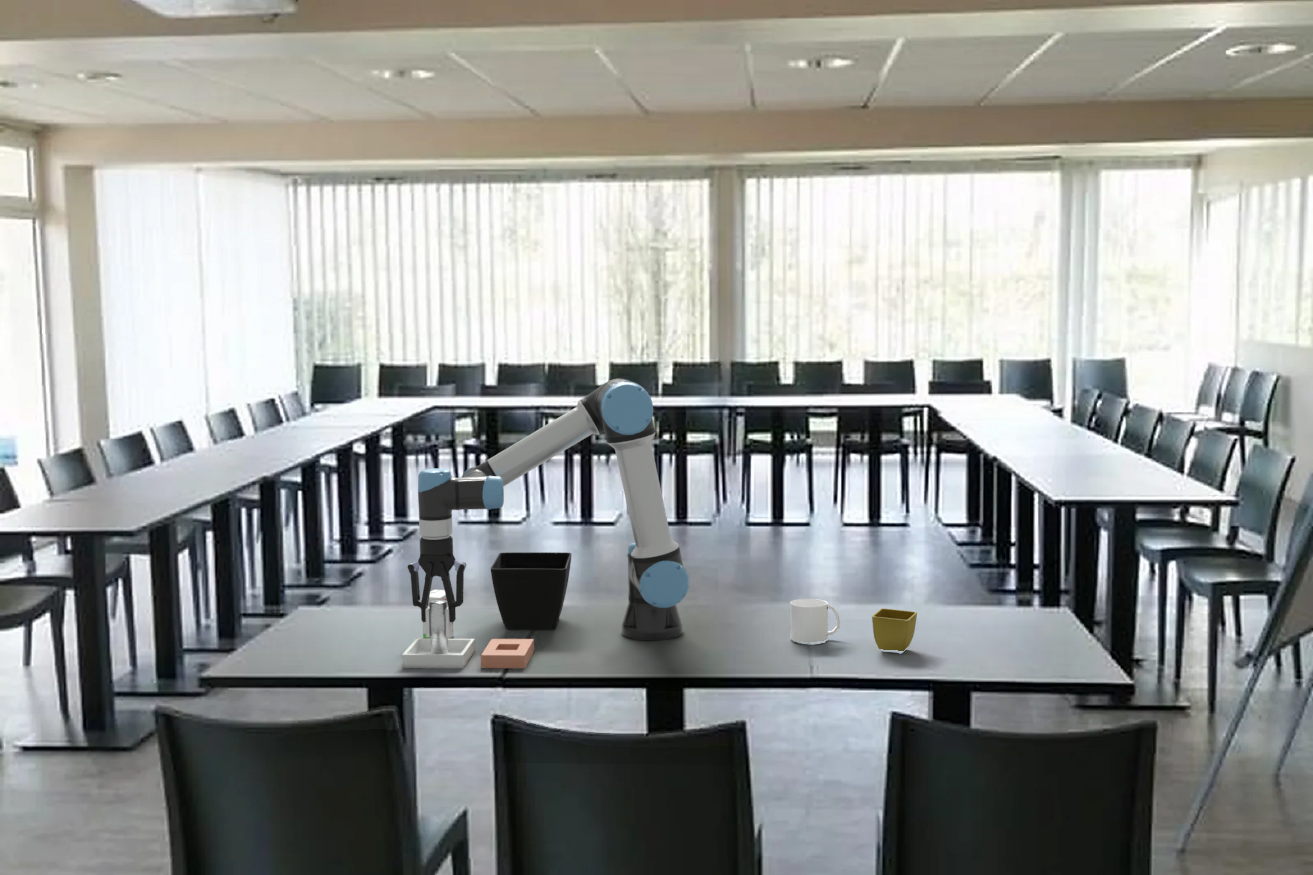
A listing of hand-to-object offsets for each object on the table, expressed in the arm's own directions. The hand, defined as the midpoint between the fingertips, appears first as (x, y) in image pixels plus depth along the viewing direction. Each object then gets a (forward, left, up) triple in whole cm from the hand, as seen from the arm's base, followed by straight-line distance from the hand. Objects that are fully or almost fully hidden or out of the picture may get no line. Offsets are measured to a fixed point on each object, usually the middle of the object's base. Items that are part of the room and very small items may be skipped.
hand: (439, 635), depth 312 cm
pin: (0, 0, -4) cm, 4 cm away
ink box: (+4, -17, -6) cm, 18 cm away
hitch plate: (-16, 0, -6) cm, 17 cm away
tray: (0, 0, -6) cm, 6 cm away
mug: (-88, -19, -6) cm, 90 cm away
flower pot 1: (-17, -33, -6) cm, 38 cm away
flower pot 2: (-106, -10, -6) cm, 107 cm away
